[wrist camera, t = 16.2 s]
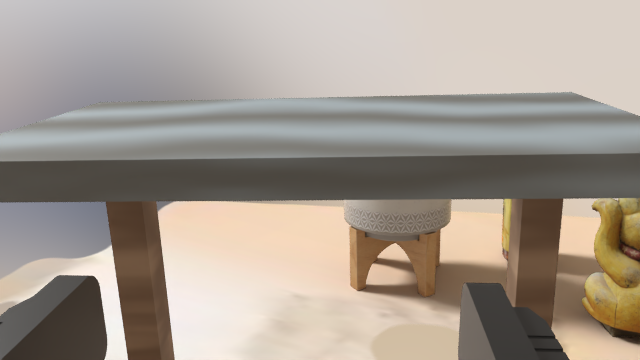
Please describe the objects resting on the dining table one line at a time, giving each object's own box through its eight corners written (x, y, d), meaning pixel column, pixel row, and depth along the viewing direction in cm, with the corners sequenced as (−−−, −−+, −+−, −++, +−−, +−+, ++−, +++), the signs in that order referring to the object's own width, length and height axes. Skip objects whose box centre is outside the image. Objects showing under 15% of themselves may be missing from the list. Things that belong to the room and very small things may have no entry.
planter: (385, 310, 63) (385, 156, 58) (326, 269, 74) (322, 136, 69) (470, 282, 69) (477, 140, 64) (405, 247, 80) (406, 124, 75)
